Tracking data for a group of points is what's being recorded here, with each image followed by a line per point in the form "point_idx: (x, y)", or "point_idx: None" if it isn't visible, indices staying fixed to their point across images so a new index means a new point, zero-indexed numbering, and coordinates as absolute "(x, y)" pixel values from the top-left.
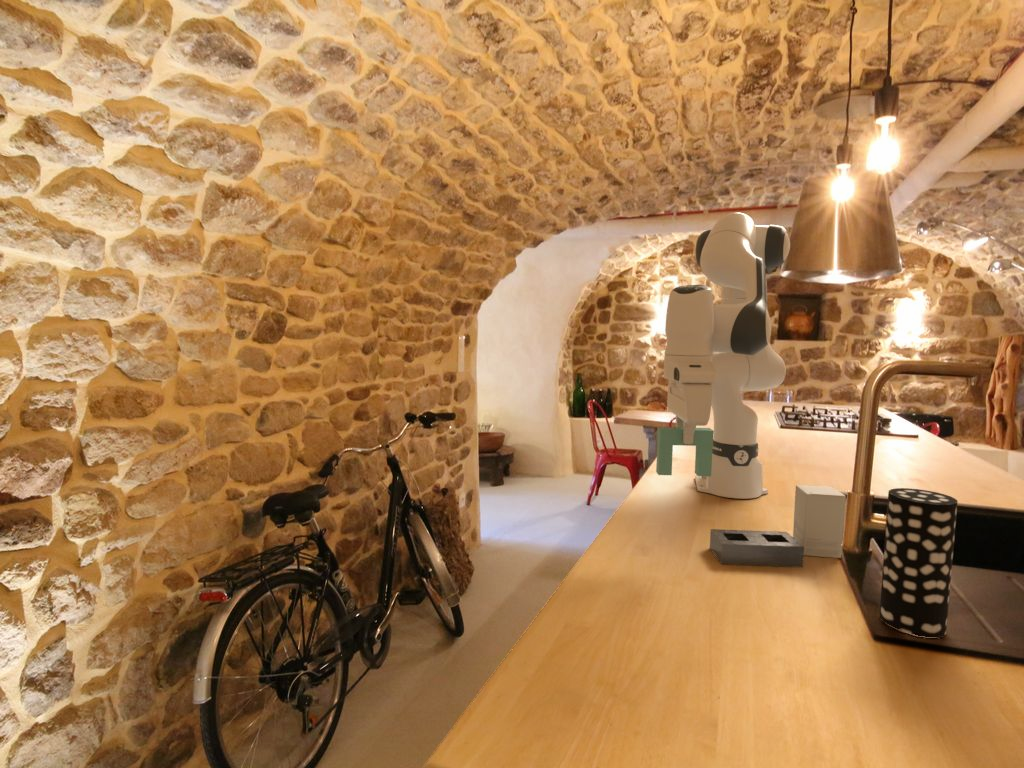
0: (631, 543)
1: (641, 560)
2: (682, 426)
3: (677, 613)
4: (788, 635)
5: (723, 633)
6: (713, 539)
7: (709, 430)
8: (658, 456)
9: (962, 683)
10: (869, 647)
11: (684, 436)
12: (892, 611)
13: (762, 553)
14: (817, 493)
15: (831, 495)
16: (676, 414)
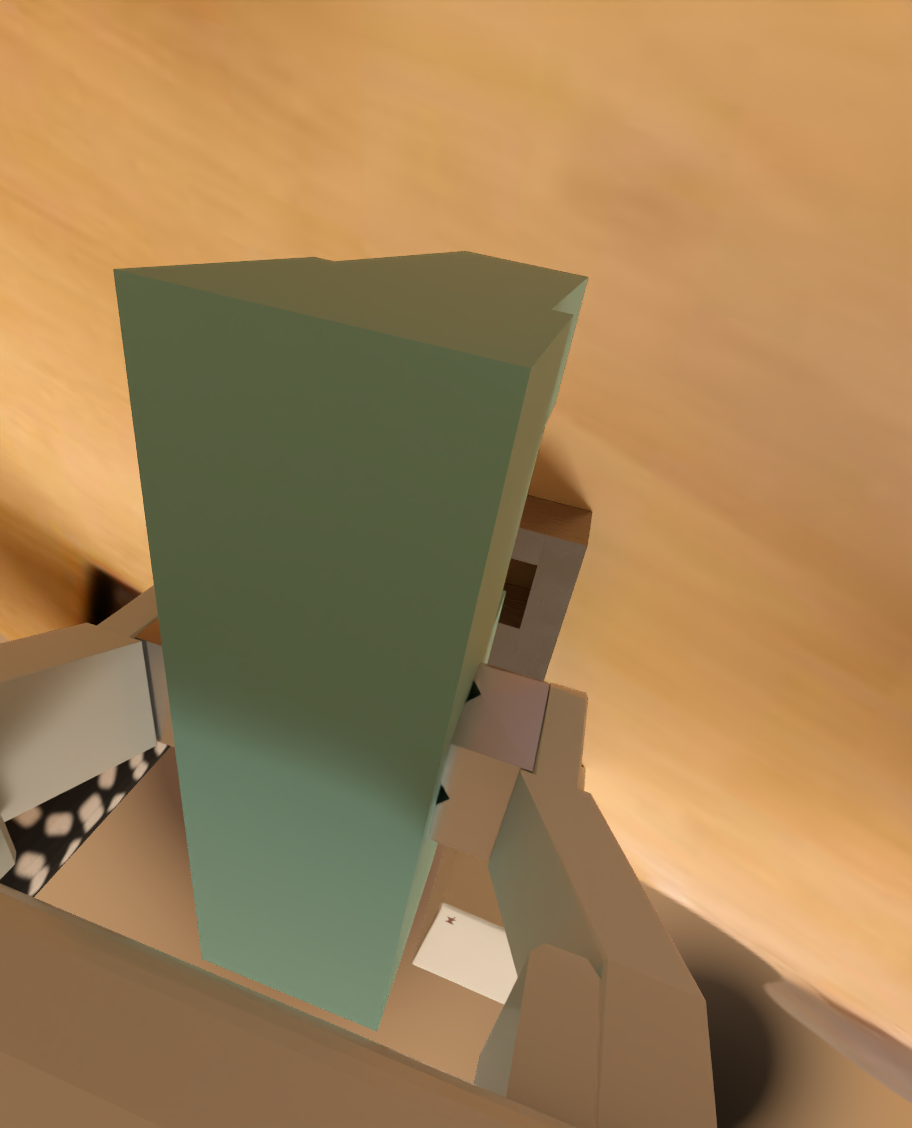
0: (736, 161)
1: (515, 145)
2: (521, 877)
3: (100, 136)
4: (67, 411)
5: (30, 242)
6: (544, 522)
7: (206, 938)
8: (452, 265)
9: (4, 593)
10: (67, 540)
11: (117, 615)
12: None
13: None
14: (440, 928)
15: (422, 943)
16: (60, 998)
